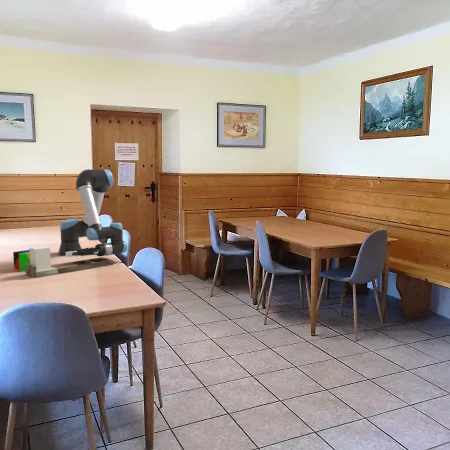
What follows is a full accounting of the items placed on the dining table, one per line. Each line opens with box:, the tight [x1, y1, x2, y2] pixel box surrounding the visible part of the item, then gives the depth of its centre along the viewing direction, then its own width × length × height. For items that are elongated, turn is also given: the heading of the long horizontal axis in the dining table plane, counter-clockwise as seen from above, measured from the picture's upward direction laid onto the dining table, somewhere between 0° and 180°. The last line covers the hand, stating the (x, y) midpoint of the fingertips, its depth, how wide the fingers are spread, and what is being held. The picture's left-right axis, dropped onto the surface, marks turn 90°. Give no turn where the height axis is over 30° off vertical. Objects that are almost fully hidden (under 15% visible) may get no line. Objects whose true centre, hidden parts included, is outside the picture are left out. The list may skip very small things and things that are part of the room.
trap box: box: [25, 256, 114, 279], centre depth 266 cm, size 12×48×6 cm, turn 135°
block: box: [29, 245, 52, 271], centre depth 253 cm, size 8×8×12 cm
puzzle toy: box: [12, 249, 30, 272], centre depth 267 cm, size 10×10×10 cm
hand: (66, 254), depth 264 cm, fingers closed
